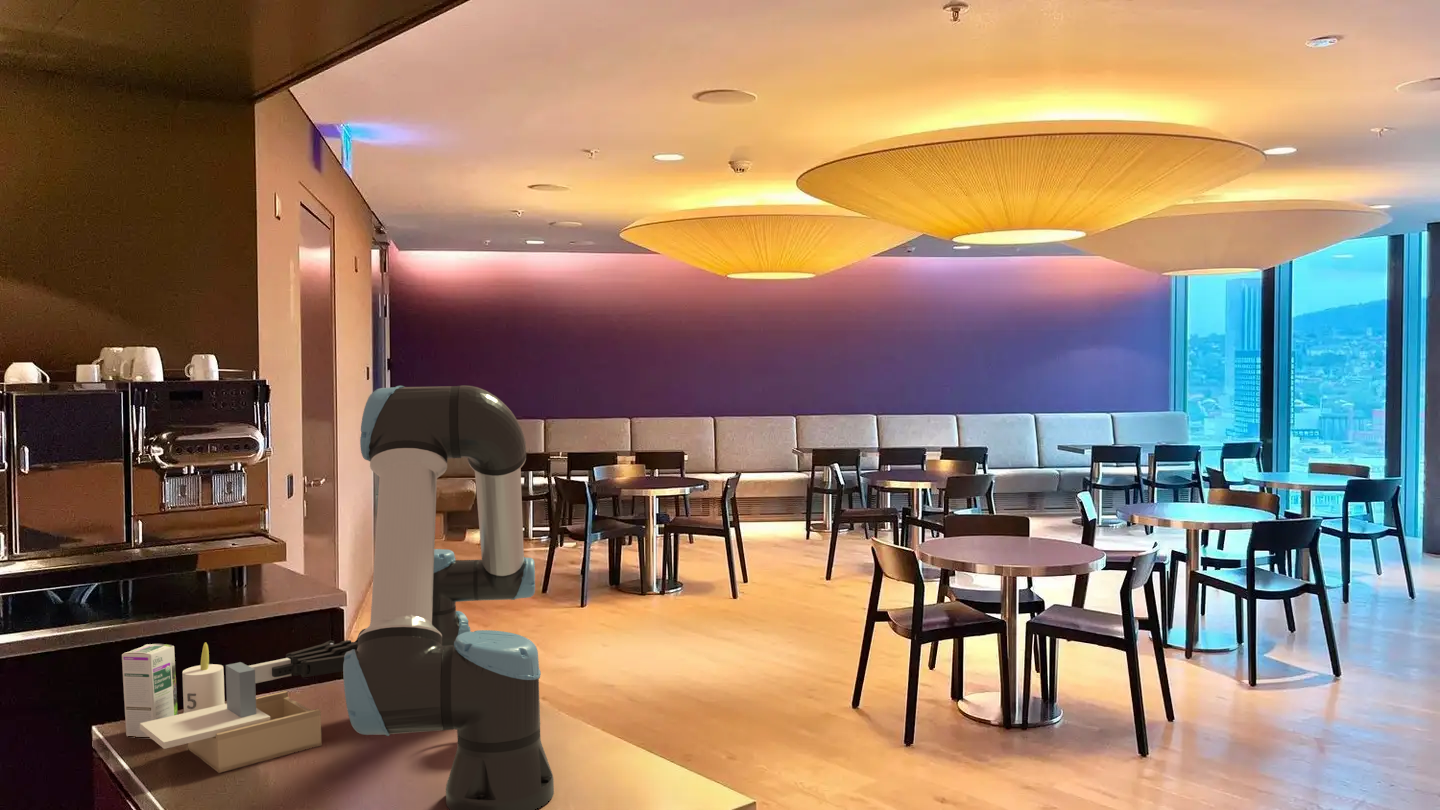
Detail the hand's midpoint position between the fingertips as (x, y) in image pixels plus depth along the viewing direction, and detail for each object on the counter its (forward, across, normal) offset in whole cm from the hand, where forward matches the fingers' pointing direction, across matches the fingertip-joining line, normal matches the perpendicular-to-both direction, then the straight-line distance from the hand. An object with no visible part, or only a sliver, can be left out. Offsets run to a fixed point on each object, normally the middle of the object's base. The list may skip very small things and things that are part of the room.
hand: (249, 675), depth 171 cm
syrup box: (+9, +20, -12) cm, 25 cm away
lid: (+7, 0, -7) cm, 10 cm away
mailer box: (0, 0, -12) cm, 12 cm away
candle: (+3, +14, -12) cm, 19 cm away
